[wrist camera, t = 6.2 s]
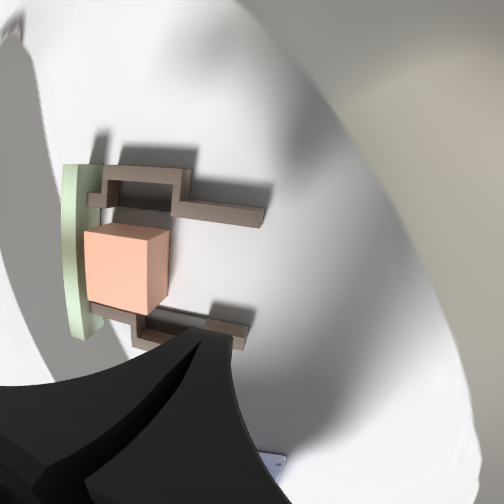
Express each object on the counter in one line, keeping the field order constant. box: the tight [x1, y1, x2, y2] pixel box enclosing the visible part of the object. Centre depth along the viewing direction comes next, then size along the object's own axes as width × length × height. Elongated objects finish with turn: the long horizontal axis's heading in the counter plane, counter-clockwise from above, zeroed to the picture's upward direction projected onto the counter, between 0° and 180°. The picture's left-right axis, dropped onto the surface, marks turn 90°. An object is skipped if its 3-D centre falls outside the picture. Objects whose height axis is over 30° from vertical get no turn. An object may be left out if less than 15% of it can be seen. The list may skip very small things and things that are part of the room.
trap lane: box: [61, 164, 264, 351], centre depth 16 cm, size 11×11×2 cm
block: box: [84, 223, 170, 315], centre depth 16 cm, size 4×4×3 cm
